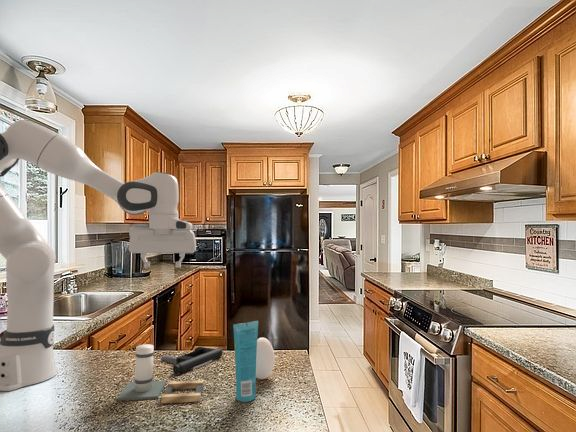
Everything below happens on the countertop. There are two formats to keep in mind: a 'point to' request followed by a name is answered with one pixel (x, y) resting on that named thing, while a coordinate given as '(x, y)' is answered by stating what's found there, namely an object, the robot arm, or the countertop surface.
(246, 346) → the tube
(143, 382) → the white cylinder
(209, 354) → the door handle
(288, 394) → the countertop surface
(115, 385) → the countertop surface
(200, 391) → the cradle
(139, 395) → the mat
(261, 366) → the egg
